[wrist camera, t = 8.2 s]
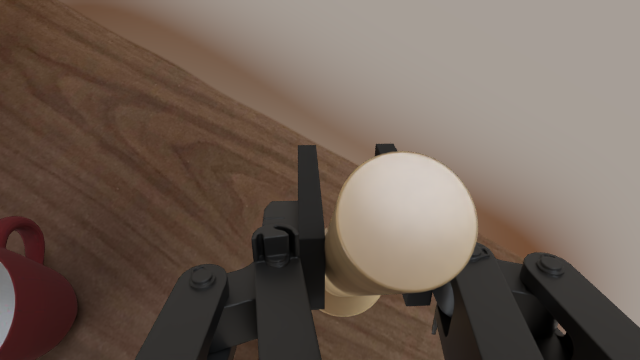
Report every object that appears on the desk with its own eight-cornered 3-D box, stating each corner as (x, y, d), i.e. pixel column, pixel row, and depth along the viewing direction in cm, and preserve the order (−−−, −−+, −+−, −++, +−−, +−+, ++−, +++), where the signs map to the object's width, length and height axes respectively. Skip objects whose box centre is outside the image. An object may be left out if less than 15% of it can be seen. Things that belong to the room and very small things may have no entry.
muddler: (379, 227, 21) (506, 105, 8) (386, 314, 20) (551, 344, 7) (297, 230, 21) (283, 108, 8) (299, 317, 20) (286, 355, 6)
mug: (-1, 241, 33) (-128, 216, 23) (100, 221, 33) (18, 190, 24) (-3, 378, 30) (-150, 416, 20) (107, 353, 30) (17, 378, 21)
